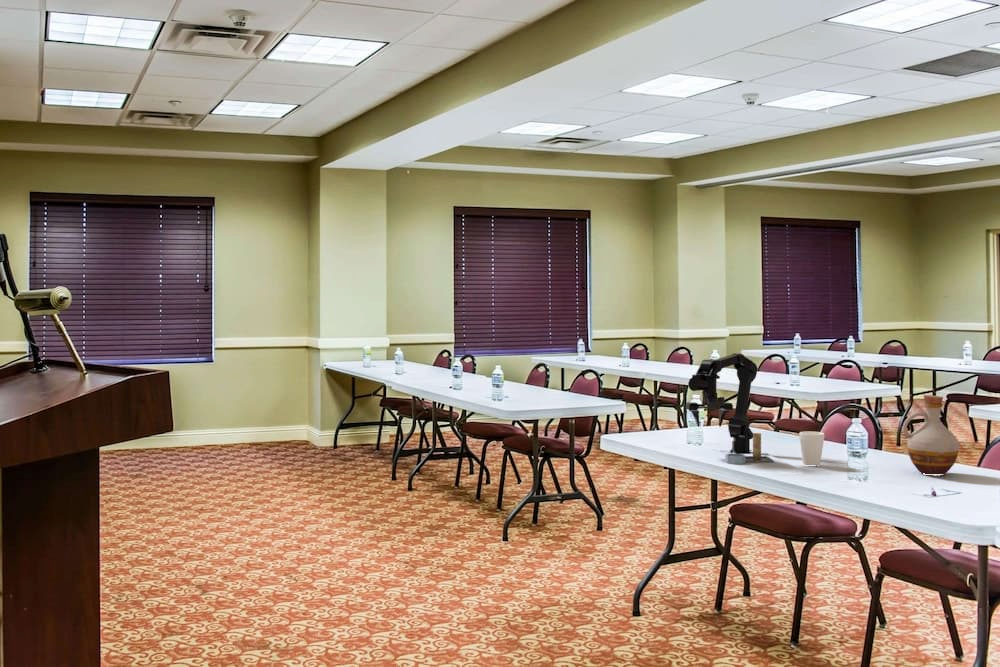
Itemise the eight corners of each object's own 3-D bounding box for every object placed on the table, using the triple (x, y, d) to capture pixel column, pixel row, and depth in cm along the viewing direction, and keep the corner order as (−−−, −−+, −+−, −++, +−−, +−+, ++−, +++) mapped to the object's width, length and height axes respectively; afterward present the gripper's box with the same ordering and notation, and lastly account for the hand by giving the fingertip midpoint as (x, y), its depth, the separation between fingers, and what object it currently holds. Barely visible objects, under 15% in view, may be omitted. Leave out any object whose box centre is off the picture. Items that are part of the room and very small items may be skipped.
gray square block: (741, 463, 372) (741, 453, 372) (747, 466, 365) (747, 456, 365) (723, 463, 372) (723, 453, 372) (729, 466, 365) (729, 456, 365)
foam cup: (825, 464, 369) (825, 432, 368) (822, 468, 360) (823, 435, 360) (800, 462, 373) (800, 430, 372) (797, 466, 364) (797, 434, 364)
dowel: (757, 459, 375) (757, 432, 375) (762, 460, 372) (762, 433, 372) (751, 459, 374) (751, 433, 374) (756, 461, 371) (756, 434, 371)
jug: (906, 477, 340) (907, 397, 339) (897, 468, 358) (898, 392, 356) (964, 479, 336) (965, 398, 335) (952, 470, 353) (953, 393, 352)
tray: (740, 460, 378) (740, 456, 378) (767, 460, 378) (767, 456, 378) (746, 465, 368) (746, 460, 368) (773, 464, 368) (773, 460, 368)
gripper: (692, 391, 376) (692, 429, 376) (737, 391, 377) (737, 429, 378) (685, 389, 387) (685, 425, 387) (728, 389, 388) (728, 425, 389)
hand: (709, 426), depth 385 cm, fingers open, 9 cm apart
